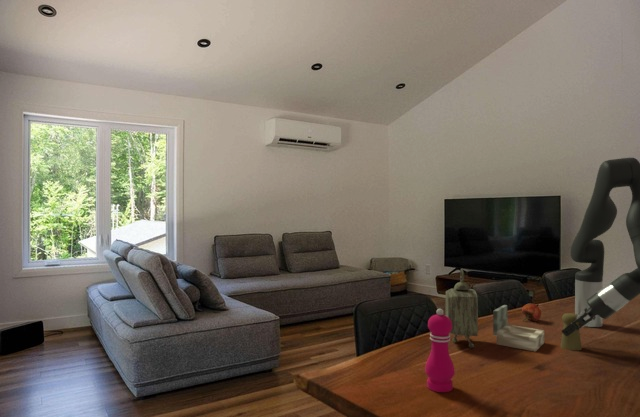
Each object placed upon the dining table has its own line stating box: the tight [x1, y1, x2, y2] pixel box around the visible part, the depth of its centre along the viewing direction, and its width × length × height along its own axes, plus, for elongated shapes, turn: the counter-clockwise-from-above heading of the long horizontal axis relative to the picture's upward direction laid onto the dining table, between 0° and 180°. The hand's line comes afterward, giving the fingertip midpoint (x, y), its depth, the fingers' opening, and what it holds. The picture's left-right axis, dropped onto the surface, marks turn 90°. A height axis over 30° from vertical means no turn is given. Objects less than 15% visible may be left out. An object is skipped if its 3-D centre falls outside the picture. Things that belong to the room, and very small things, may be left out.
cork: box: [560, 312, 583, 351], centre depth 147 cm, size 6×6×11 cm
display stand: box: [492, 304, 545, 353], centre depth 151 cm, size 12×13×11 cm
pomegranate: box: [521, 303, 542, 322], centre depth 181 cm, size 7×7×10 cm
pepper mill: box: [424, 308, 456, 393], centre depth 114 cm, size 7×7×20 cm
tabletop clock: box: [445, 268, 479, 349], centre depth 151 cm, size 14×9×25 cm, turn 168°
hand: (566, 331), depth 147 cm, fingers open, 8 cm apart
